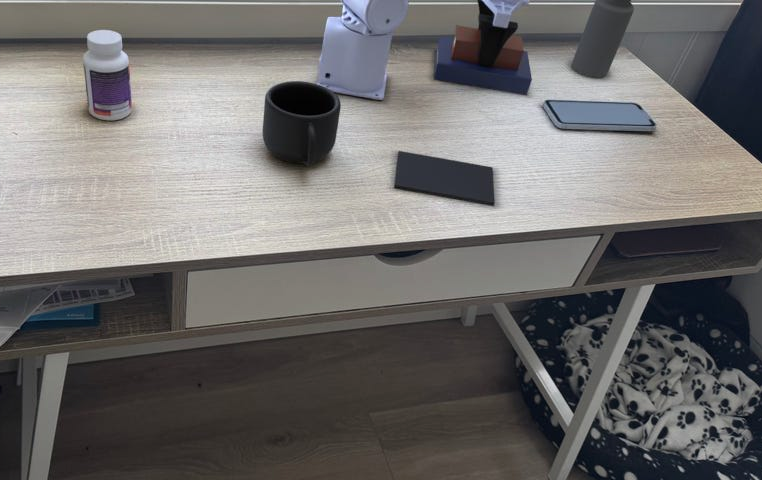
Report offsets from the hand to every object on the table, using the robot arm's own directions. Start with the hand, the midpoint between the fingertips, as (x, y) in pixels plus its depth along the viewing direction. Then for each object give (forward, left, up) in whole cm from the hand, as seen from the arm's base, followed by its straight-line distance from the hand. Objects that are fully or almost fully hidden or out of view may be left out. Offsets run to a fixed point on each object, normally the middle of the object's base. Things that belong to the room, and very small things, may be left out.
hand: (484, 55), depth 111 cm
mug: (-23, -33, -3) cm, 40 cm away
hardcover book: (0, 0, -3) cm, 3 cm away
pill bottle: (-48, -30, -3) cm, 57 cm away
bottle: (+18, +8, -3) cm, 20 cm away
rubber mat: (-5, -32, -3) cm, 33 cm away
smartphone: (+17, -9, -3) cm, 19 cm away
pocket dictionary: (0, 0, 0) cm, 0 cm away
